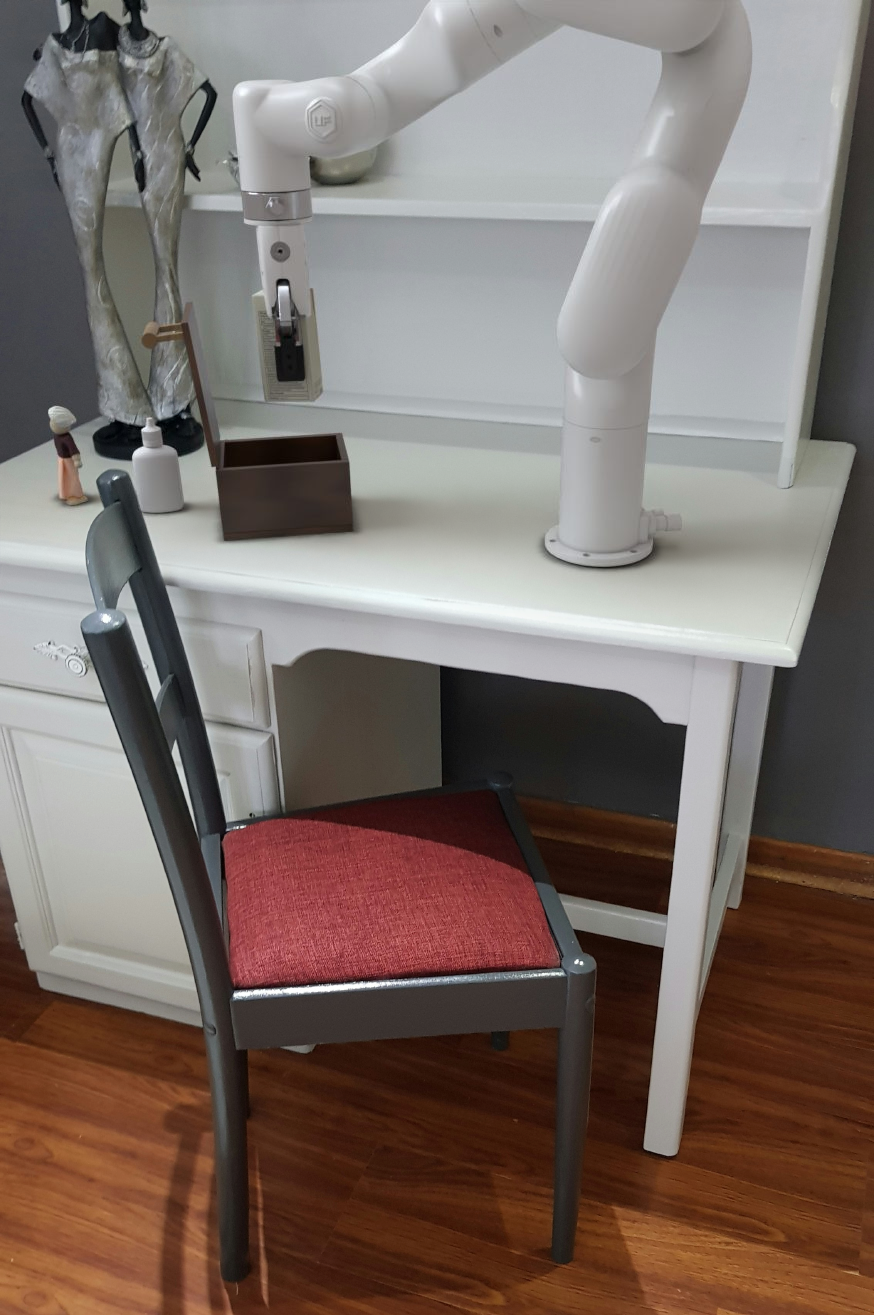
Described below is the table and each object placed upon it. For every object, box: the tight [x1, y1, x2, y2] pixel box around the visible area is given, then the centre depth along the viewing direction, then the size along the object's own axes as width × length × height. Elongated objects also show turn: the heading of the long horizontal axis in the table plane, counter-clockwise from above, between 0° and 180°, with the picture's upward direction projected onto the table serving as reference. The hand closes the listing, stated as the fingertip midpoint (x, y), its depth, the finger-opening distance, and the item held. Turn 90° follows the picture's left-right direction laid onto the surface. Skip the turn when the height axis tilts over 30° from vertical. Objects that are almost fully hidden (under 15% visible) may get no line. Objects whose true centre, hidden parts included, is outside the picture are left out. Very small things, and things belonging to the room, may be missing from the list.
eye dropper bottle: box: [131, 417, 185, 514], centre depth 142 cm, size 4×6×12 cm
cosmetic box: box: [251, 287, 324, 403], centre depth 128 cm, size 6×4×12 cm
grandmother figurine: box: [47, 405, 89, 506], centre depth 145 cm, size 8×4×13 cm, turn 47°
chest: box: [215, 432, 354, 541], centre depth 139 cm, size 16×12×9 cm
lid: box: [140, 301, 221, 468], centre depth 131 cm, size 17×12×6 cm
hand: (291, 372), depth 129 cm, fingers closed on cosmetic box, 5 cm apart
